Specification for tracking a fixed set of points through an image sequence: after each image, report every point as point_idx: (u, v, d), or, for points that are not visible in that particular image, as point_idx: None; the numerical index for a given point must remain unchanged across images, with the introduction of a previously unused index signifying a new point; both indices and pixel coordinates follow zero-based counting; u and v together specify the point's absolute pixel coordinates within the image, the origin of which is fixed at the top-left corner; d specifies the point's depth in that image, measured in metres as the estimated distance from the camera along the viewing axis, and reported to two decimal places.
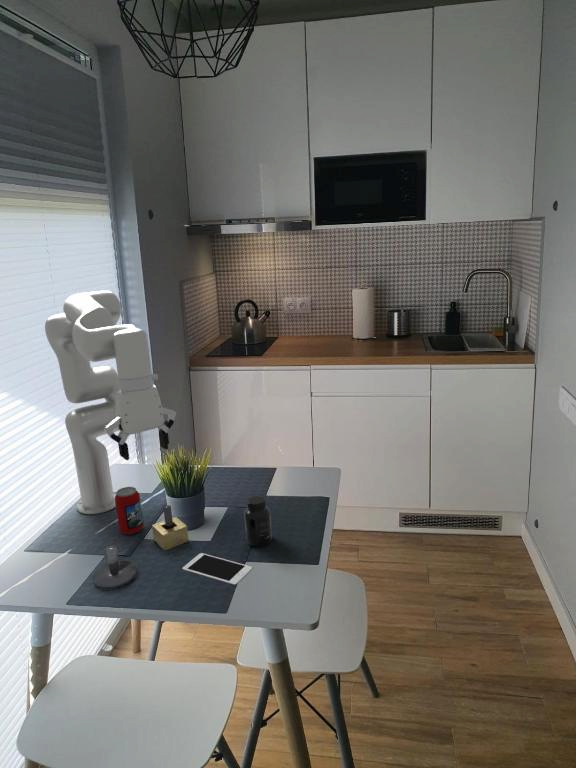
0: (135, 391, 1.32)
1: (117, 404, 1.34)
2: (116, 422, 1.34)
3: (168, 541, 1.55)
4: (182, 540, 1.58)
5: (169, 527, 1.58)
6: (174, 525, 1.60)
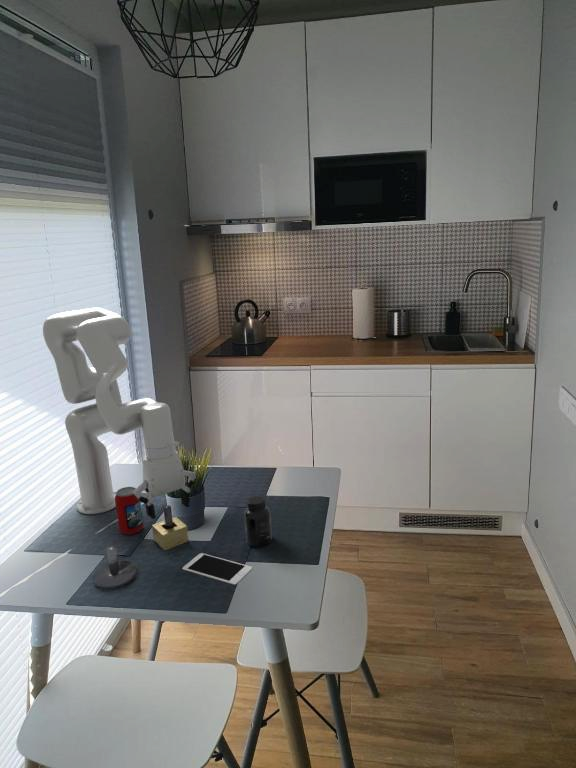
0: (160, 459, 1.49)
1: (144, 470, 1.51)
2: (144, 486, 1.51)
3: (168, 541, 1.55)
4: (182, 540, 1.58)
5: (169, 527, 1.58)
6: (174, 525, 1.60)
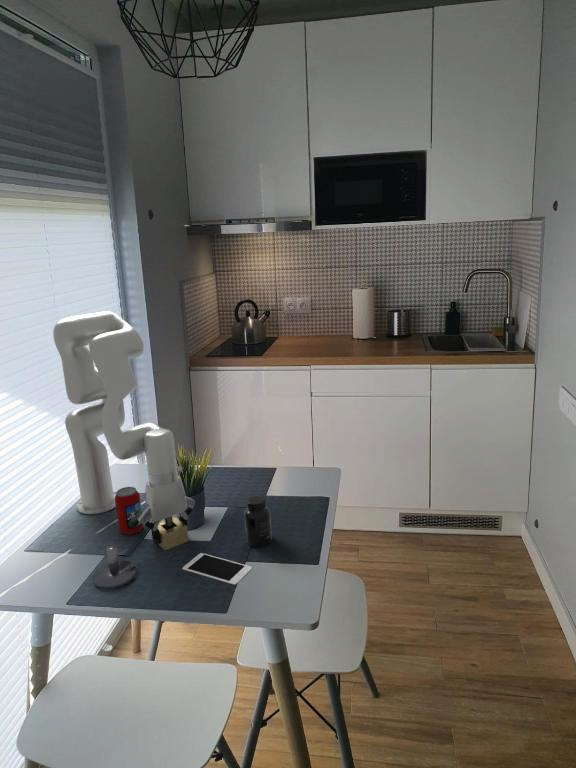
0: (163, 485, 1.51)
1: (147, 495, 1.53)
2: (147, 512, 1.53)
3: (168, 541, 1.55)
4: (182, 540, 1.58)
5: (169, 527, 1.58)
6: (174, 525, 1.60)
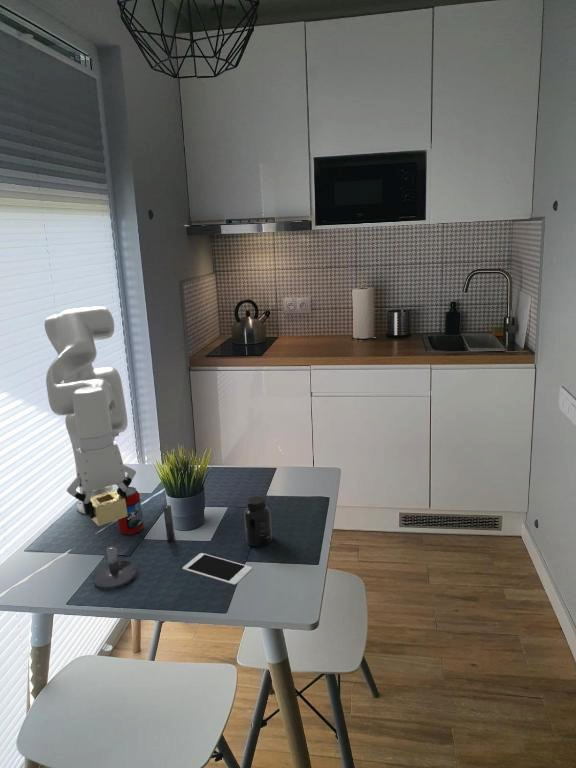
0: (94, 450, 1.32)
1: (77, 462, 1.34)
2: (77, 482, 1.34)
3: (102, 515, 1.36)
4: (120, 515, 1.38)
5: (169, 527, 1.58)
6: (111, 498, 1.41)
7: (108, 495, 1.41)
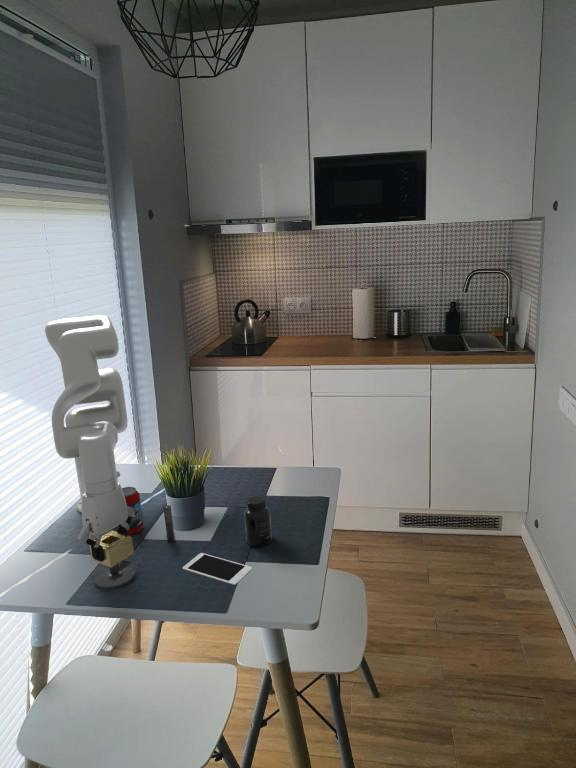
0: (106, 493, 1.35)
1: (85, 508, 1.35)
2: (88, 527, 1.35)
3: (114, 556, 1.38)
4: (128, 553, 1.42)
5: (169, 527, 1.58)
6: (114, 539, 1.43)
7: (110, 536, 1.43)
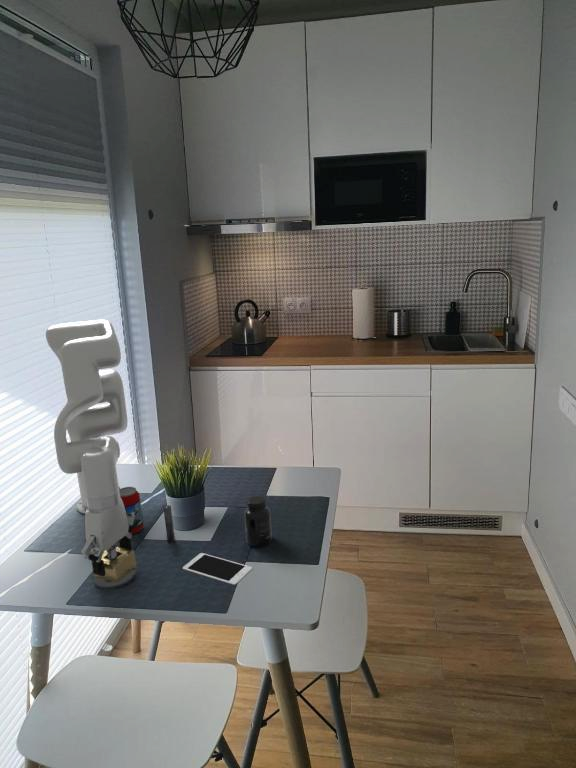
0: (110, 508, 1.36)
1: (90, 524, 1.36)
2: (92, 542, 1.35)
3: (120, 571, 1.40)
4: (131, 567, 1.44)
5: (169, 527, 1.58)
6: None
7: None
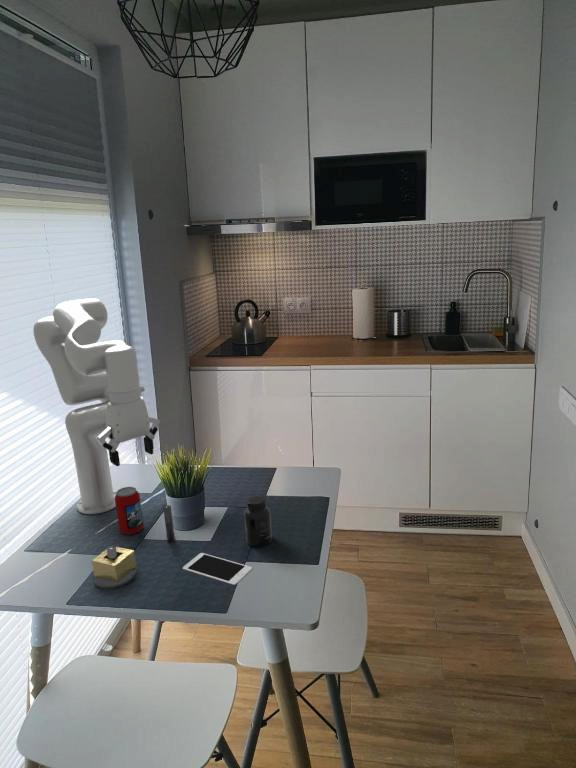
0: (126, 403, 1.45)
1: (108, 415, 1.46)
2: (108, 432, 1.46)
3: (120, 571, 1.40)
4: (131, 567, 1.44)
5: (169, 527, 1.58)
6: None
7: None
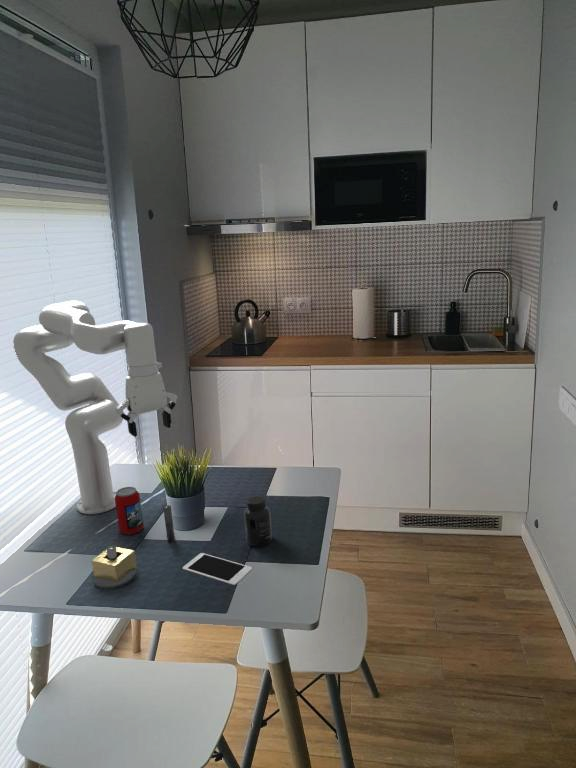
0: (142, 377, 1.53)
1: (127, 388, 1.55)
2: (126, 403, 1.55)
3: (120, 571, 1.40)
4: (131, 567, 1.44)
5: (169, 527, 1.58)
6: None
7: None
